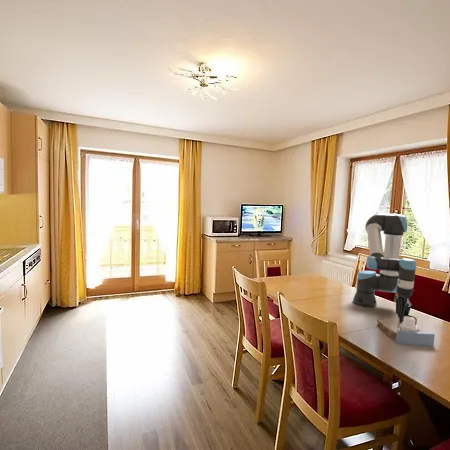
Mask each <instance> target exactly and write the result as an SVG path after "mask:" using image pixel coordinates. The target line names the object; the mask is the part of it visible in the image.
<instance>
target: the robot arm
mask: <svg viewBox="0 0 450 450" xmlns="http://www.w3.org/2000/svg"><path fill="white" fill-rule="evenodd" d="M364 228H365V231H366V233H367V241H368V249H369V250H368V251H369V256H367V257H366V262H365V263H366V268H367V269H369V270H361V271H358V273H357V277H356V279H357V281H356V292H355V293H354V295H353V298H352V303H354V304H355V305H357V306H361V307H367V308H374V307H377V305H378V304H377V299H376V295H375V294H376V293H375V291H376V292H377V291H378V292H383V293H384V292H386V293H395V294H397V295H394V298H395V314H396V315H397V323H396V324H397V325H396V328H397V329H398V330H400V328H401V323H402V322H403V316H404V315H409V314H410V310H411V308H412V307H413V303H411V302H410V301H411V300H410V299H411V297H412V296H413V295H414V294H413V292H414V286H415V285H414V284H415V276H416V269H417V261H416V260H415V259H411V258H405V257H404V258H403V257H399V253H400V246H401V245H400V243H401V237H403V236H404V233H407V232H408V220H407V218H406V216H405V215H404V214H397V213H395V214H394V213H377V214H373V215H372V216H371V217H369V219H367V221H366V223H365V227H364ZM382 232H383V233H382ZM381 233H382V234H384V236H385V240H384V245H383V240H382V239H383V238H382V234H381ZM383 246H384V247H383ZM377 271H379V273H377Z"/></svg>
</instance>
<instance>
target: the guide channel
mask: <svg viewBox="0 0 450 450" xmlns="http://www.w3.org/2000/svg"><path fill="white" fill-rule="evenodd" d="M377 326H378V327H379V328H380V329H381V330H383V332H385V334H387V335H388V336H389V337H390V338H391V339H393V341H394V342H396V338H397V332H395V331H394V330H393V329H391V327H389V326H388V325H387V324H386V323H385V322H383V321H382V320H381V319H380V320H379V319H378V320H377ZM417 332H423V331H422V330H420V329H419V328H418V327H417Z"/></svg>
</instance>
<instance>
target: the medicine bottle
mask: <svg viewBox="0 0 450 450" xmlns="http://www.w3.org/2000/svg"><path fill="white" fill-rule="evenodd" d="M417 323H418V319H417V317H416V316H414V315H409V314H408V315H404V316H403V322H402V323H401V328H400V329H399V331H414V332H417V328H418V325H417Z"/></svg>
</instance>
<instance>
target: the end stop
mask: <svg viewBox="0 0 450 450" xmlns="http://www.w3.org/2000/svg"><path fill="white" fill-rule="evenodd" d="M396 334H397V338H396V341H395V342H396V343H397V344H398V345H399V344H400V345H411V346H413V345H416V346H429V347H430V346H431V347H434V345H435V337H436V335H435V333H434V332H430V331H429V332H428V331H422V332H414V331H400V330H399V329H398V330H397V331H396Z"/></svg>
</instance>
